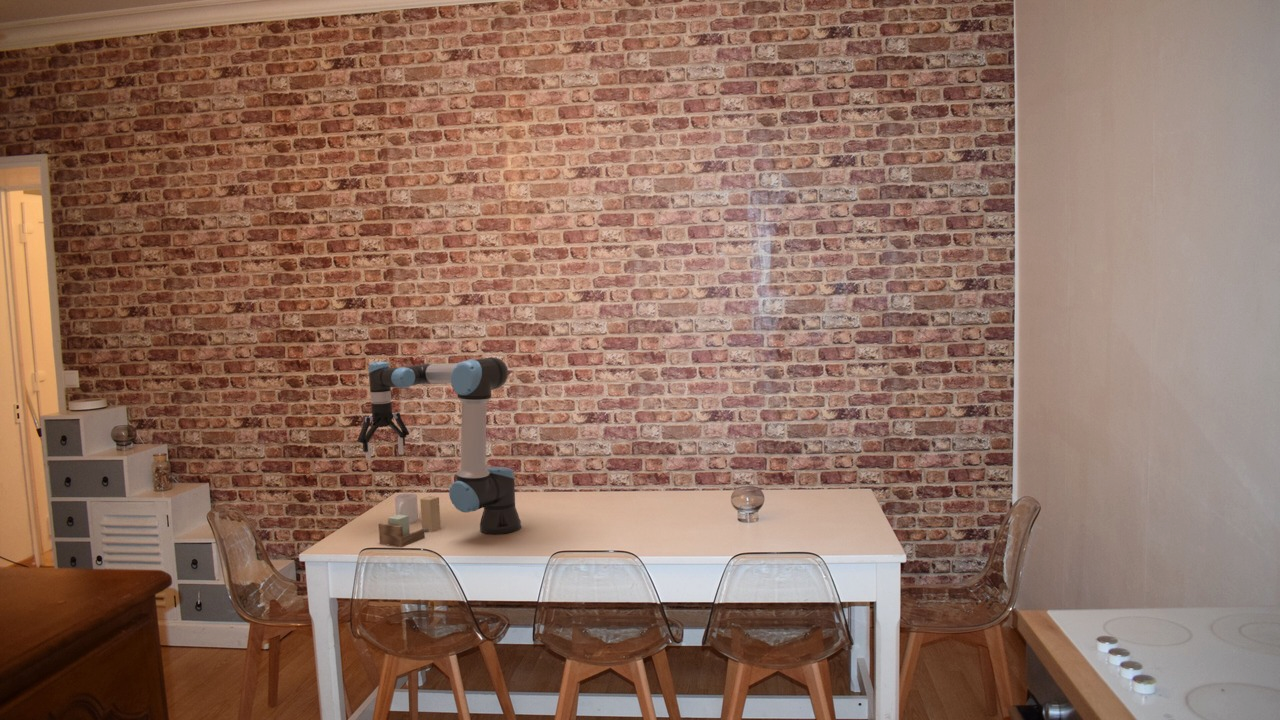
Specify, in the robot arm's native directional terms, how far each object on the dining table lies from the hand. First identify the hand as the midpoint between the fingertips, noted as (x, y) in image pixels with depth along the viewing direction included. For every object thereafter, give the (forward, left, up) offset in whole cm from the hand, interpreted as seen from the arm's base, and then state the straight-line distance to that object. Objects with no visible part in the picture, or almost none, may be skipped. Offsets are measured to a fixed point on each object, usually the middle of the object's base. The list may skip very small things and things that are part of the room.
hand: (385, 457), depth 318 cm
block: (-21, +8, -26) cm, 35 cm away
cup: (-5, -3, -26) cm, 27 cm away
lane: (-21, +15, -26) cm, 37 cm away
